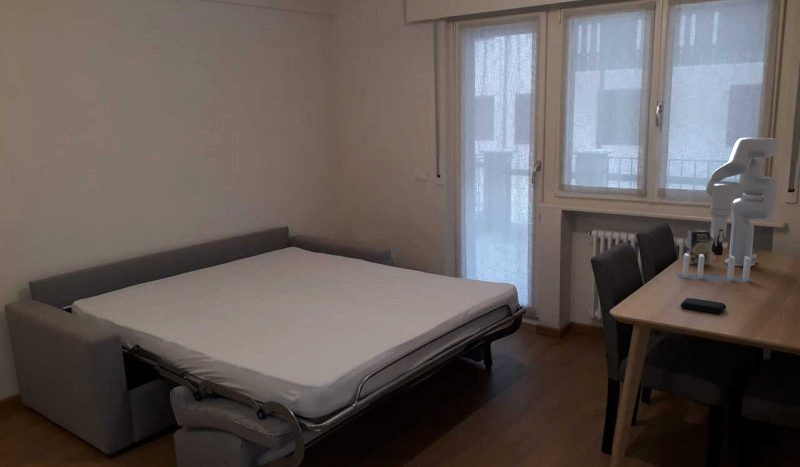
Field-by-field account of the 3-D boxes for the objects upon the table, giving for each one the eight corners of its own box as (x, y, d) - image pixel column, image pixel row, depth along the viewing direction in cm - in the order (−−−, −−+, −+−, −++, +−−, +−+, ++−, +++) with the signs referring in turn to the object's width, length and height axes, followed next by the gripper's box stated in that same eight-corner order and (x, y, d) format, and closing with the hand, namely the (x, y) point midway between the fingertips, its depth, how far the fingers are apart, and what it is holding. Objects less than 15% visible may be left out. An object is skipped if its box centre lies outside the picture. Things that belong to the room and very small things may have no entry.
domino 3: (729, 280, 268) (731, 258, 266) (727, 277, 273) (729, 255, 271) (733, 280, 268) (735, 258, 266) (731, 277, 272) (733, 255, 270)
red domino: (715, 262, 268) (717, 239, 266) (713, 259, 273) (715, 237, 271) (719, 262, 268) (721, 239, 266) (717, 259, 272) (719, 237, 270)
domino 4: (744, 281, 266) (746, 258, 264) (742, 278, 271) (744, 256, 269) (748, 281, 266) (751, 259, 264) (746, 278, 270) (748, 256, 268)
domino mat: (678, 279, 273) (678, 278, 273) (676, 274, 280) (676, 273, 280) (755, 283, 264) (755, 283, 264) (751, 279, 271) (751, 278, 271)
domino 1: (683, 277, 274) (685, 255, 272) (682, 274, 278) (684, 253, 276) (687, 278, 273) (689, 256, 271) (686, 275, 278) (688, 253, 276)
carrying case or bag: (727, 309, 233) (685, 302, 241) (728, 301, 232) (685, 295, 241) (722, 317, 224) (678, 310, 233) (722, 309, 224) (679, 302, 232)
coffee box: (689, 264, 297) (692, 231, 294) (684, 261, 304) (687, 229, 301) (709, 264, 297) (712, 232, 293) (704, 261, 303) (706, 229, 300)
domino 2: (698, 278, 272) (700, 256, 270) (697, 275, 276) (698, 254, 274) (702, 278, 271) (704, 256, 269) (701, 276, 276) (702, 254, 274)
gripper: (707, 209, 275) (704, 249, 279) (714, 215, 259) (710, 257, 263) (726, 209, 273) (722, 250, 276) (734, 215, 257) (730, 258, 260)
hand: (716, 253), depth 269 cm, fingers closed on red domino, 4 cm apart
